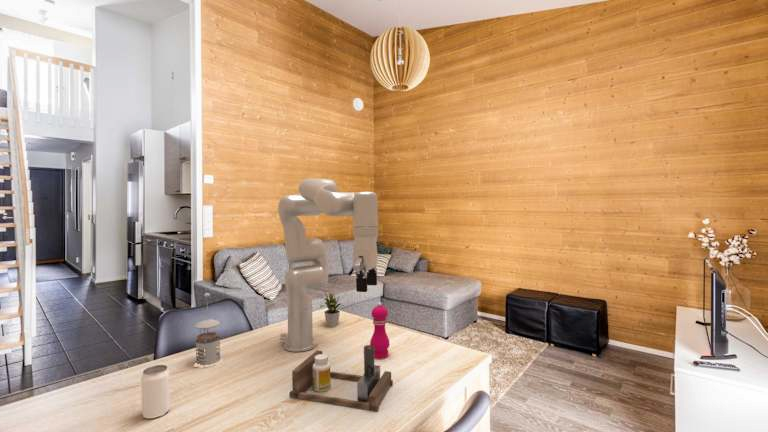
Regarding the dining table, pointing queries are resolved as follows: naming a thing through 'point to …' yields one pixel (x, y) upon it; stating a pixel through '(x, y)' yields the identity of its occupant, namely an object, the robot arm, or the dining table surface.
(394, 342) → the dining table surface
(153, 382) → the can
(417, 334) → the dining table surface
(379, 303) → the pepper mill
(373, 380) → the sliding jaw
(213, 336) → the french press
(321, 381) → the supplement bottle
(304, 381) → the vise frame
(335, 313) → the house plant
